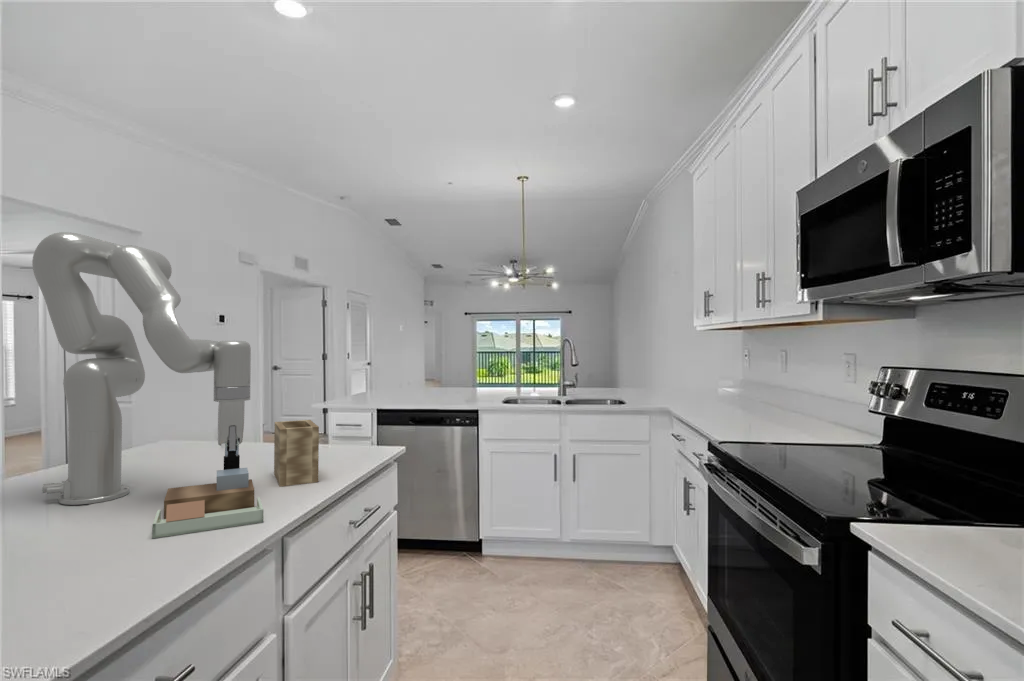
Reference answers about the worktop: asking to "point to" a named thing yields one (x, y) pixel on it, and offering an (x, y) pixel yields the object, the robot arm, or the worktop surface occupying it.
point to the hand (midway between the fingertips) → (231, 473)
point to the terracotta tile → (185, 510)
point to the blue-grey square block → (232, 479)
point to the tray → (207, 521)
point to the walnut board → (212, 497)
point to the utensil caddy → (296, 452)
